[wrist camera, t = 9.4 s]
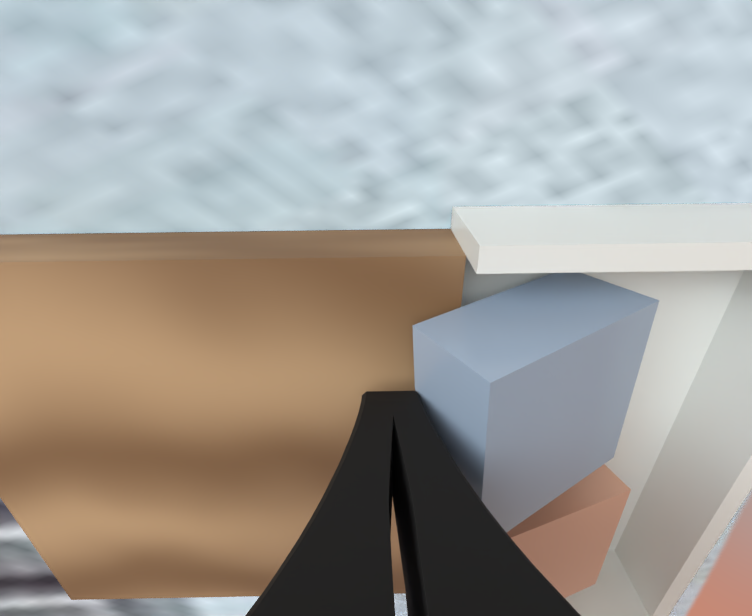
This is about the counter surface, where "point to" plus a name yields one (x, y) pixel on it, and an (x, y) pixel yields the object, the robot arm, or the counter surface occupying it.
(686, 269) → the tray
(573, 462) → the slate tile
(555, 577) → the terracotta tile
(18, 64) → the counter surface
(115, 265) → the oak board
